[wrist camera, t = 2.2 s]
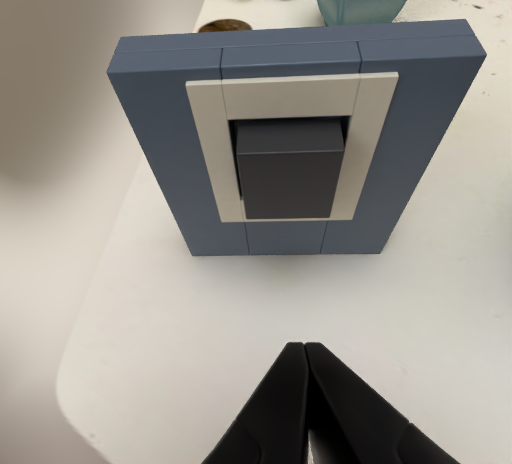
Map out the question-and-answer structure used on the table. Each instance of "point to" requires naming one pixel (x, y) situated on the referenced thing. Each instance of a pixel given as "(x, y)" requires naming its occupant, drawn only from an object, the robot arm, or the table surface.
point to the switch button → (289, 167)
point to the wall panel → (294, 108)
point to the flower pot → (359, 11)
